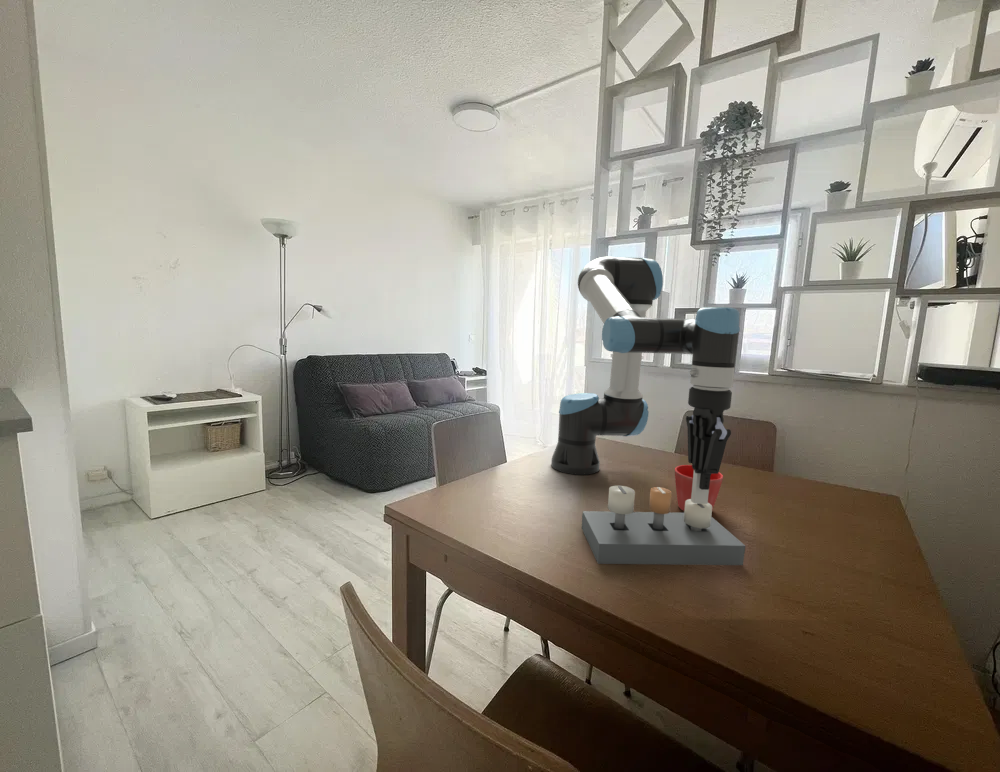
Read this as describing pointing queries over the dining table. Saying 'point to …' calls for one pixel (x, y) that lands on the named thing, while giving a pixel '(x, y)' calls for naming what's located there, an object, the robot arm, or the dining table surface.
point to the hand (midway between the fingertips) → (699, 502)
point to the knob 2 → (697, 515)
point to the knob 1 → (621, 503)
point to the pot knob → (659, 505)
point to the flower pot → (686, 480)
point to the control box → (659, 541)
